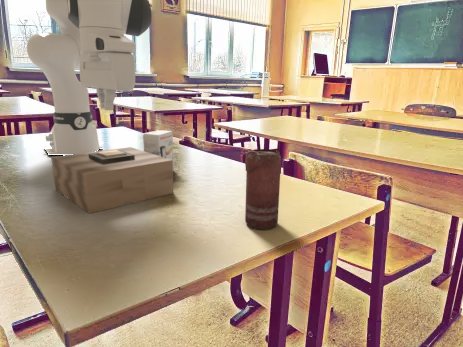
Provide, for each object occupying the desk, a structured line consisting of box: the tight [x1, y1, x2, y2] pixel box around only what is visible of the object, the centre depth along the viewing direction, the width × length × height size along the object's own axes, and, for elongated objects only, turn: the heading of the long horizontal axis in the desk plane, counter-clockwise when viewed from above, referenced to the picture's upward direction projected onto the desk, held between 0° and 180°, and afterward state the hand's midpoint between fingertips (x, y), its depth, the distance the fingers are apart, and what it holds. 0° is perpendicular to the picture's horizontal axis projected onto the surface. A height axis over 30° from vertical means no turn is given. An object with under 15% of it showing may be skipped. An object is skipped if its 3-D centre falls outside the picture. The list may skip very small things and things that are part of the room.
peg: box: [98, 149, 125, 158], centre depth 84 cm, size 4×4×9 cm
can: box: [244, 148, 282, 231], centre depth 66 cm, size 6×6×14 cm
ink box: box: [142, 129, 175, 172], centre depth 100 cm, size 9×5×12 cm, turn 162°
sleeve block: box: [51, 146, 174, 214], centre depth 84 cm, size 20×20×9 cm
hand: (107, 109), depth 80 cm, fingers closed
